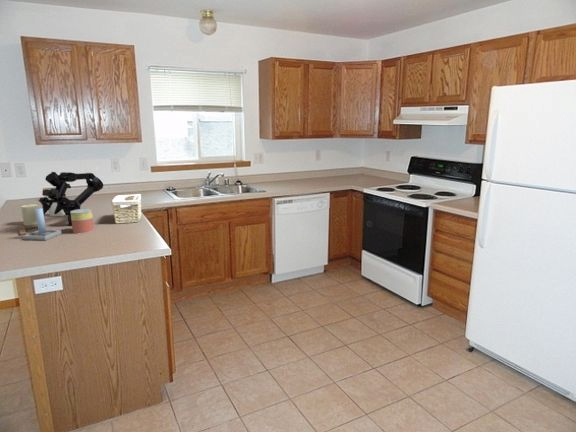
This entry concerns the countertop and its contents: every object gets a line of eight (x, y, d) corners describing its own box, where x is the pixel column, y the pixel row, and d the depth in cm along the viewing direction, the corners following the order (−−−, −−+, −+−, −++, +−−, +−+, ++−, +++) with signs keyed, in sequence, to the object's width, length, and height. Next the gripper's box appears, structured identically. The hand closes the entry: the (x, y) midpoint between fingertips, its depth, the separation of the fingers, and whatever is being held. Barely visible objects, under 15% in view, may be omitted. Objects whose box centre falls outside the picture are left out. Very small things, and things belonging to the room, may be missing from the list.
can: (37, 221, 256) (34, 202, 253) (43, 223, 250) (40, 204, 247) (21, 224, 249) (18, 205, 246) (26, 226, 243) (23, 207, 240)
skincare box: (66, 214, 274) (63, 193, 270) (61, 216, 268) (58, 194, 264) (53, 214, 274) (50, 193, 270) (48, 216, 268) (45, 194, 264)
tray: (61, 233, 226) (61, 230, 225) (45, 240, 213) (45, 236, 213) (40, 233, 227) (40, 229, 227) (23, 240, 215) (22, 235, 214)
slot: (19, 230, 235) (19, 228, 235) (44, 226, 242) (43, 225, 241) (20, 235, 223) (19, 233, 223) (45, 232, 230) (45, 230, 230)
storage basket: (118, 216, 268) (115, 194, 265) (143, 214, 272) (141, 193, 269) (113, 224, 246) (110, 201, 242) (141, 222, 250) (138, 199, 246)
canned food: (98, 229, 235) (96, 209, 232) (82, 234, 225) (79, 213, 222) (85, 227, 239) (82, 208, 237) (68, 232, 229) (65, 212, 227)
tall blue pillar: (33, 236, 218) (29, 209, 215) (40, 234, 223) (36, 207, 220) (45, 236, 217) (41, 210, 214) (51, 234, 222) (48, 208, 219)
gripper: (37, 184, 230) (25, 207, 223) (61, 182, 224) (49, 206, 216) (52, 194, 239) (41, 217, 232) (76, 193, 233) (65, 216, 226)
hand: (48, 214), depth 226 cm, fingers open, 9 cm apart
